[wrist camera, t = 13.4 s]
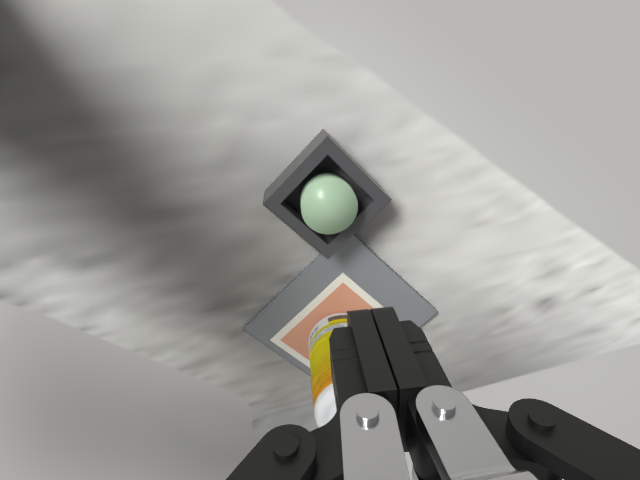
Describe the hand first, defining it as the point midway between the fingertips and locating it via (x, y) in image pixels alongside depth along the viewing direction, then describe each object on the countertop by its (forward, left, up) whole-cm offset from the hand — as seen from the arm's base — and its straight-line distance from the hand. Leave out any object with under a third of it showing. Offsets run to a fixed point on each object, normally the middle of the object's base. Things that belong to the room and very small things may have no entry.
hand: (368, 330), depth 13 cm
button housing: (0, 0, -17) cm, 17 cm away
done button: (0, 0, -14) cm, 14 cm away
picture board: (+9, -7, -17) cm, 20 cm away
